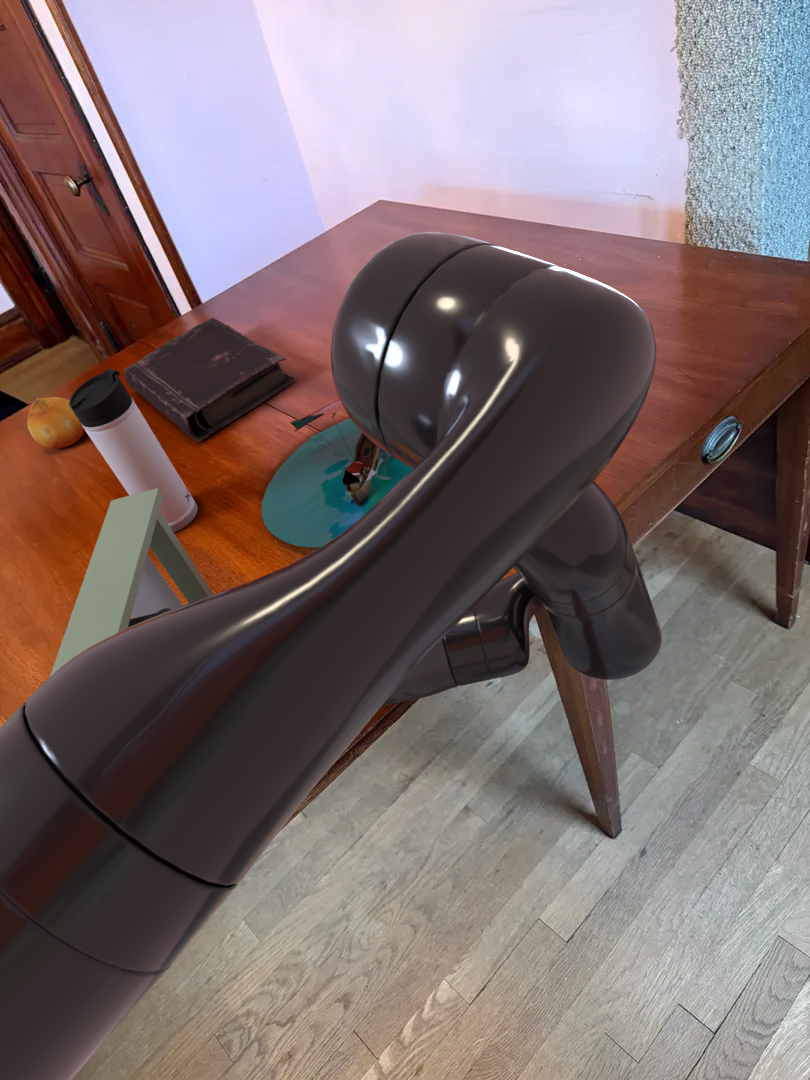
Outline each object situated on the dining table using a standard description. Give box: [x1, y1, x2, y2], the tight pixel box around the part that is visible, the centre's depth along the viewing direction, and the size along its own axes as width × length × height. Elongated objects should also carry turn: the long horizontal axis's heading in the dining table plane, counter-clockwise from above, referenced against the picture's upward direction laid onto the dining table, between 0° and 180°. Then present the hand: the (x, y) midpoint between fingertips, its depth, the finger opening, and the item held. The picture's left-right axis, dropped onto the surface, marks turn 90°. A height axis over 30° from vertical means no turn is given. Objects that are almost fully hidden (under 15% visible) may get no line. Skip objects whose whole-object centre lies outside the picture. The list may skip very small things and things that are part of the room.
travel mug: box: [69, 368, 199, 533], centre depth 88 cm, size 6×7×20 cm
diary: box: [123, 317, 294, 443], centre depth 116 cm, size 19×25×5 cm
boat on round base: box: [261, 399, 413, 549], centre depth 87 cm, size 28×28×11 cm
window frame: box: [49, 488, 215, 677], centre depth 67 cm, size 6×22×17 cm, turn 4°
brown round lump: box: [26, 396, 86, 450], centre depth 116 cm, size 8×8×8 cm
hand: (186, 700), depth 60 cm, fingers closed
